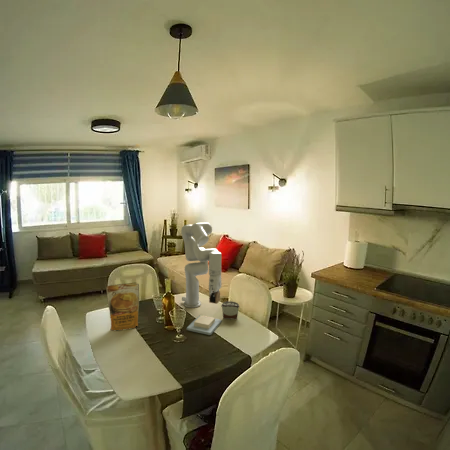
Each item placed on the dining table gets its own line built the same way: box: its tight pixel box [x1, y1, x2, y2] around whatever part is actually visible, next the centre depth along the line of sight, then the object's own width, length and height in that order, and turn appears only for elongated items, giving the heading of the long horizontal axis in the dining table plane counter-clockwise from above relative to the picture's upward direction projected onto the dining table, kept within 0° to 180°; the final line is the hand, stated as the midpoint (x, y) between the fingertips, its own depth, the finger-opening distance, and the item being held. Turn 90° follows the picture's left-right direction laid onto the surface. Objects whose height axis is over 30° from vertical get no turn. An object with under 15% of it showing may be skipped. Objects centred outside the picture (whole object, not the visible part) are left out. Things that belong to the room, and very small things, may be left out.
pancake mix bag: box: [105, 282, 140, 331], centre depth 177 cm, size 7×19×28 cm, turn 110°
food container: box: [220, 300, 240, 320], centre depth 195 cm, size 12×6×10 cm, turn 84°
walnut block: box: [208, 290, 221, 304], centre depth 176 cm, size 5×5×6 cm
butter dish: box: [186, 314, 223, 336], centre depth 182 cm, size 16×18×4 cm
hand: (214, 299), depth 177 cm, fingers closed on walnut block, 5 cm apart
